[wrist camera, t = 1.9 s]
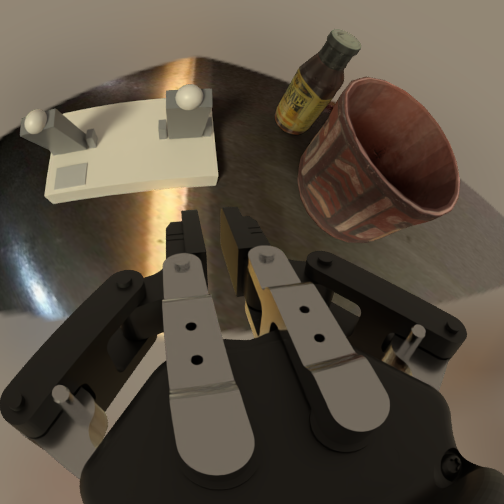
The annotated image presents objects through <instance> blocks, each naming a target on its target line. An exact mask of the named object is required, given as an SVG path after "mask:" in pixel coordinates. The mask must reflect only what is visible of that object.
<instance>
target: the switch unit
mask: <svg viewBox="0 0 504 504" xmlns="http://www.w3.org/2000/svg"><path fill="white" fill-rule="evenodd" d="M63 115H64V116H65V117H66V118H67V119H68V120H70V121H71V122H72V123H73V124H74V125H76V126H77V127H78V128H79V129H80V130H81V131H83V132H84V133H85V134H86V139H85V140H86V142H87V150H82V151H76V152H71V153H66V154H61V155H60V154H57V153H55V152H53V151H51V150H50V152H51V157H50V162H49V168H48V175H47V181H46V189H45V197H46V198H47V199H48V200H49V201H50V202H52V203H53V204H55V203H61V202H67V201H74V200H80V199H87V198H94V197H101V196H108V195H116V194H124V193H133V192H142V191H152V190H162V189H174V188H186V187H200V186H216V183H217V179H218V167H217V158H216V148H215V138H214V128H213V118H212V109H211V112H210V115H209V117H208V120H207V123H206V126H205V129H204V131H203V134H202V137H197V138H180V139H169V136H168V126H167V116H166V98H162V99H151V100H141V101H133V102H125V103H118V104H111V105H105V106H99V107H94V108H88V109H83V110H78V111H74V112H69V113H65V114H63Z"/></svg>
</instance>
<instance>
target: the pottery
mask: <svg viewBox="0 0 504 504" xmlns="http://www.w3.org/2000/svg"><path fill="white" fill-rule="evenodd" d="M297 180H298V186H299V191H300V197H301V200H302V202H303V204H304V206H305V209H306V211H307V213H308V214H309V215H310V217H311V218H312V219H313V220H314V221H315V223H316V224H317V225H318V226H319V227H320V228H321V229H323V230H324V231H325V232H327V233H328V234H329V235H331V236H333V237H335V238H337V239H340V240H343V241H346V242H355V243H367V242H370V241H373V240H376V239H379V238H382V237H385V236H387V235H390V234H392V233H394V232H396V231H399V230H401V229H404V228H407V227H410V226H413V225H417V224H421V223H424V222H428V221H431V220H434V219H436V218H438V217H440V216H443V215H445V214H446V213H448V212H450V211H451V210H452V209H453V207H454V205H455V204H456V202H457V200H458V197H459V188H460V178H459V172H458V166H457V162H456V159H455V156H454V153H453V151H452V148H451V146H450V143H449V141H448V140H447V138H446V136H445V134H444V132H443V131H442V129H441V127H440V126H439V124H438V123H437V122H436V121H435V119H434V118H433V117H432V116H431V114H430V113H429V112H428V111H427V110H426V108H425V107H424V106H423V105H421V104H420V103H419V102H418V101H417V100H415V99H414V98H413V97H412V96H411V95H410V94H408V93H407V92H406V91H404V90H403V89H400V88H399V87H397V86H395V85H393V84H391V83H389V82H387V81H385V80H381V79H376V78H370V77H363V78H359V79H356V80H353V81H351V82H350V83H349V85H348V86H347V87H346V89H345V90H344V91H343V92H342V94H341V95H340V97H339V99H338V100H337V102H336V104H335V106H334V108H333V110H332V112H331V113H330V115H329V117H328V119H327V121H326V122H325V124H324V125H323V126H322V128H321V129H320V130H319V132H318V133H317V134H316V136H315V137H314V139H313V140H312V141H311V143H310V144H309V146H308V147H307V149H306V150H305V152H304V153H303V155H302V156H301V159H300V164H299V172H298V179H297Z"/></svg>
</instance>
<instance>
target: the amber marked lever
mask: <svg viewBox="0 0 504 504" xmlns="http://www.w3.org/2000/svg"><path fill="white" fill-rule="evenodd" d="M211 109H212V89H200V88H199V87H198V86H196V85H193V84H188V85H184V86H182V87H181V88H180V89H179V90H169V91H166V116H167V126H168V136H169V139H180V138H197V137H202V134H203V131H204V129H205V126H206V123H207V120H208V117H209V115H210V112H211Z"/></svg>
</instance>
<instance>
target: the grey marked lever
mask: <svg viewBox="0 0 504 504" xmlns="http://www.w3.org/2000/svg"><path fill="white" fill-rule="evenodd" d="M20 136H21V137H23V138H25V139H27V140H29V141H32V142H34V143H36V144H38V145H40V146H42V147H45V148H47V149H49V150H51V151H53V152H55V153H57V154H60V155H61V154H66V153H71V152H76V151H82V150H87V142H86V140H85V139H86V134H85V133H84V132H83V131H81V130H80V129H79V128H78V127H77V126H76V125H74V124H73V123H72V122H71V121H70V120H68V119H67V118H66V117H65V116H64V115H63V114H61V113H60V112H59V111H58V110H57V109H52V110H48V111H45V112H44V111H43V110H41V109H35V110H32V111H31V112H30V113H29V114H28V115H27V116H26V117H25V118H22V121H21V130H20Z"/></svg>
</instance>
